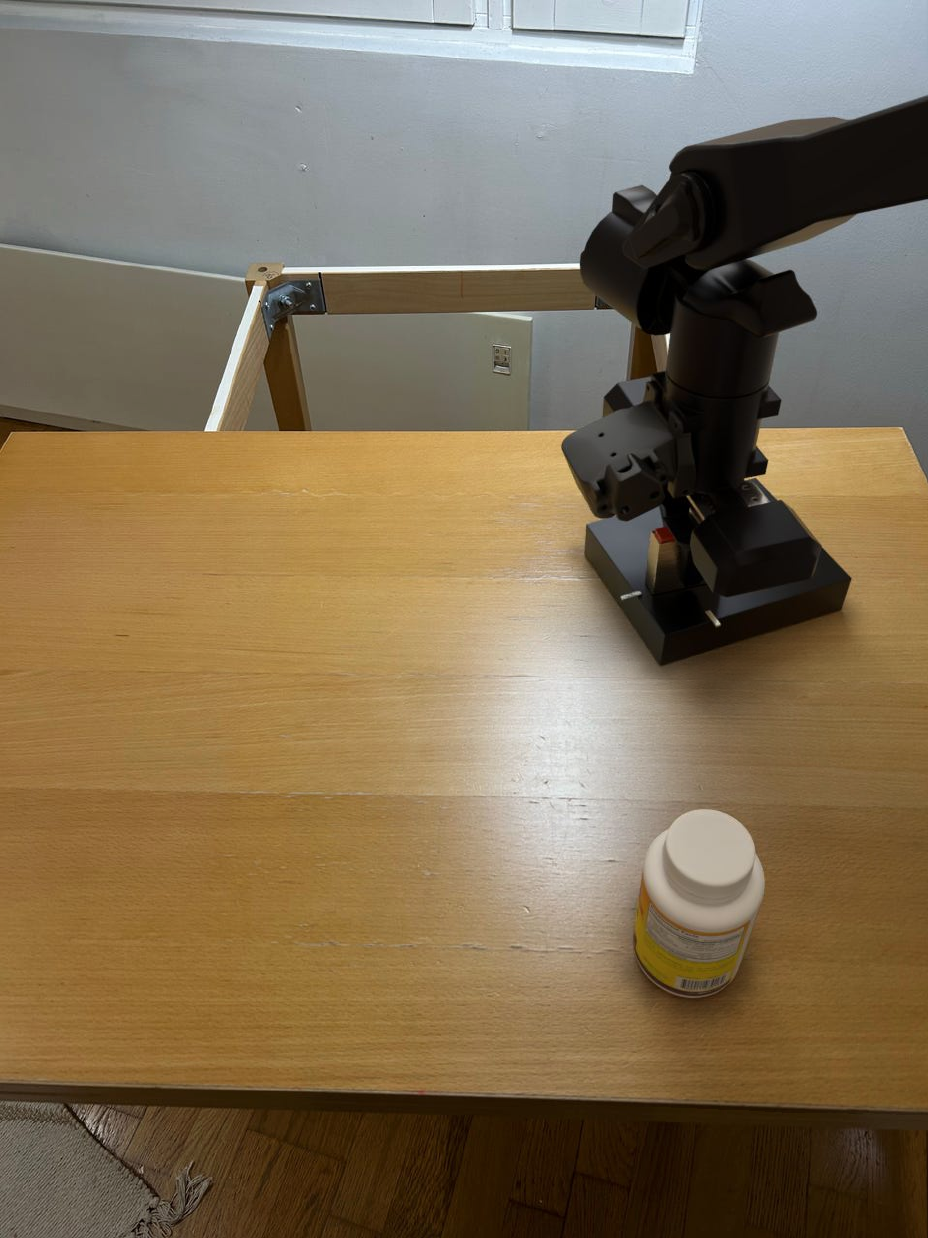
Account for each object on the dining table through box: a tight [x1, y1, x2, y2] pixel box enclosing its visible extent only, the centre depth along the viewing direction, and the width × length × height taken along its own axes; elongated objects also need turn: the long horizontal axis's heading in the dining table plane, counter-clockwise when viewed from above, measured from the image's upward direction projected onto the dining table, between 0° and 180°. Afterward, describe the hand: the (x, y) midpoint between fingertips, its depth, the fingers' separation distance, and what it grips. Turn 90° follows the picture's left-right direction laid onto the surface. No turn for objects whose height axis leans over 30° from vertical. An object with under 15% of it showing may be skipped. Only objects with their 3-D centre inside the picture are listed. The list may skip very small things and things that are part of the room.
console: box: [583, 477, 853, 667], centre depth 69 cm, size 13×15×3 cm
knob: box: [645, 526, 706, 595], centre depth 65 cm, size 5×1×5 cm, turn 105°
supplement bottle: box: [632, 808, 766, 999], centre depth 48 cm, size 6×6×10 cm
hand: (684, 575), depth 66 cm, fingers closed on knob
